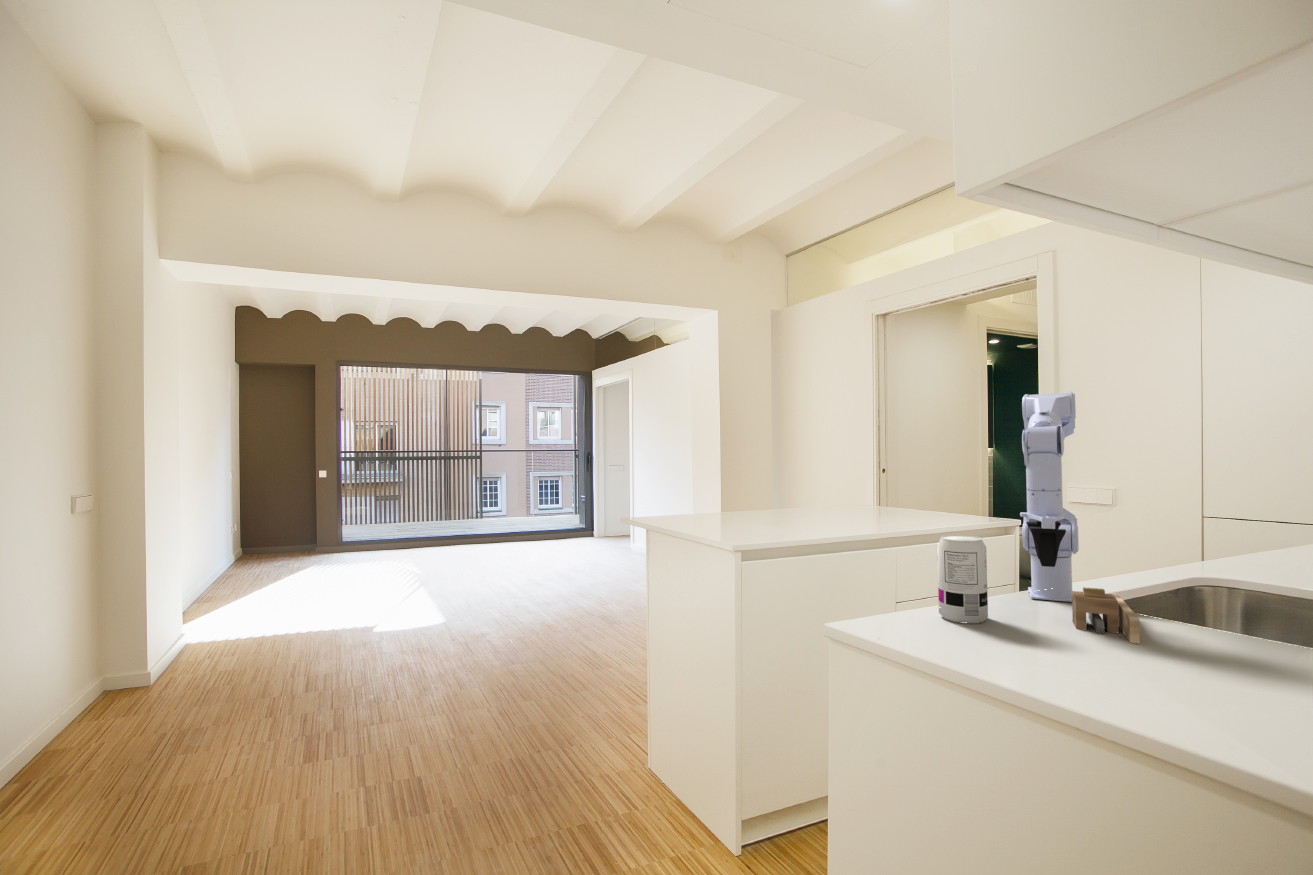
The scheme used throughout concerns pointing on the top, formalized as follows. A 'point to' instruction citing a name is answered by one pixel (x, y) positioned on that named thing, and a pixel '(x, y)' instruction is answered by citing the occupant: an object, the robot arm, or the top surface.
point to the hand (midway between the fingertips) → (1046, 562)
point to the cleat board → (1120, 621)
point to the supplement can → (962, 578)
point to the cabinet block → (1095, 608)
